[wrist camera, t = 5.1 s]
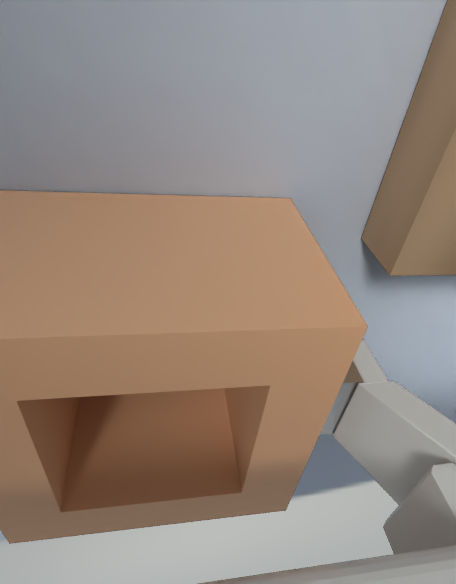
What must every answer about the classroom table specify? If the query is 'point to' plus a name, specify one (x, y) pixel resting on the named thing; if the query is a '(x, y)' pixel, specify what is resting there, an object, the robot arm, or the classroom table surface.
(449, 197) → the stand
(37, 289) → the square frame block
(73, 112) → the classroom table surface
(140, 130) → the classroom table surface
